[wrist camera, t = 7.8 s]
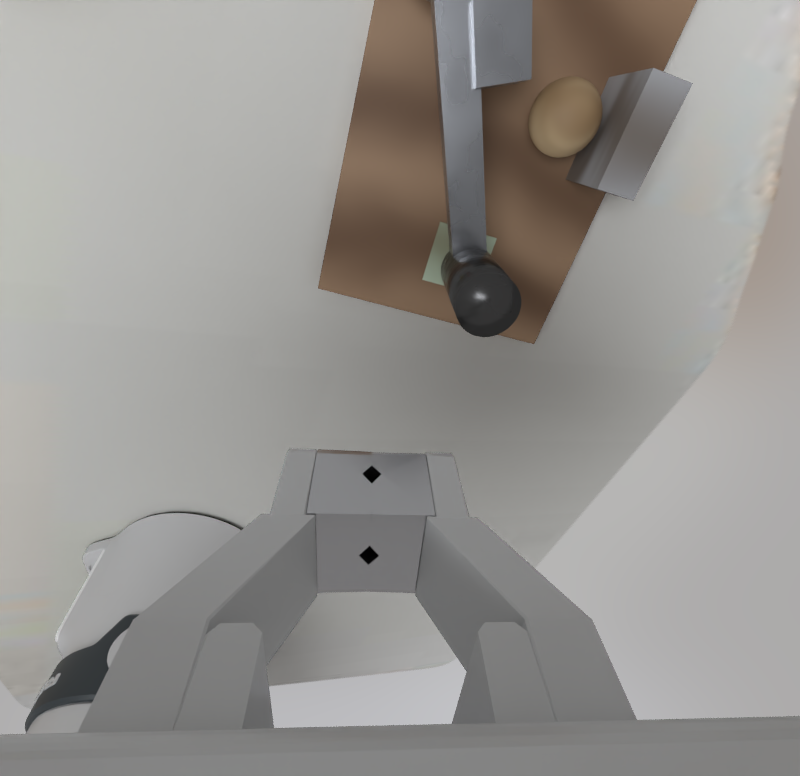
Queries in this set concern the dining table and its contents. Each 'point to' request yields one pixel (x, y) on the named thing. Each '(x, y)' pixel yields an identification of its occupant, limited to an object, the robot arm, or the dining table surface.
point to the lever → (475, 146)
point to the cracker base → (500, 151)
